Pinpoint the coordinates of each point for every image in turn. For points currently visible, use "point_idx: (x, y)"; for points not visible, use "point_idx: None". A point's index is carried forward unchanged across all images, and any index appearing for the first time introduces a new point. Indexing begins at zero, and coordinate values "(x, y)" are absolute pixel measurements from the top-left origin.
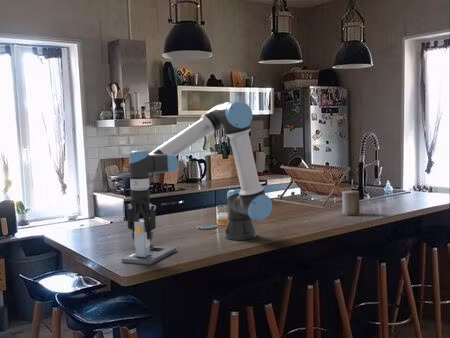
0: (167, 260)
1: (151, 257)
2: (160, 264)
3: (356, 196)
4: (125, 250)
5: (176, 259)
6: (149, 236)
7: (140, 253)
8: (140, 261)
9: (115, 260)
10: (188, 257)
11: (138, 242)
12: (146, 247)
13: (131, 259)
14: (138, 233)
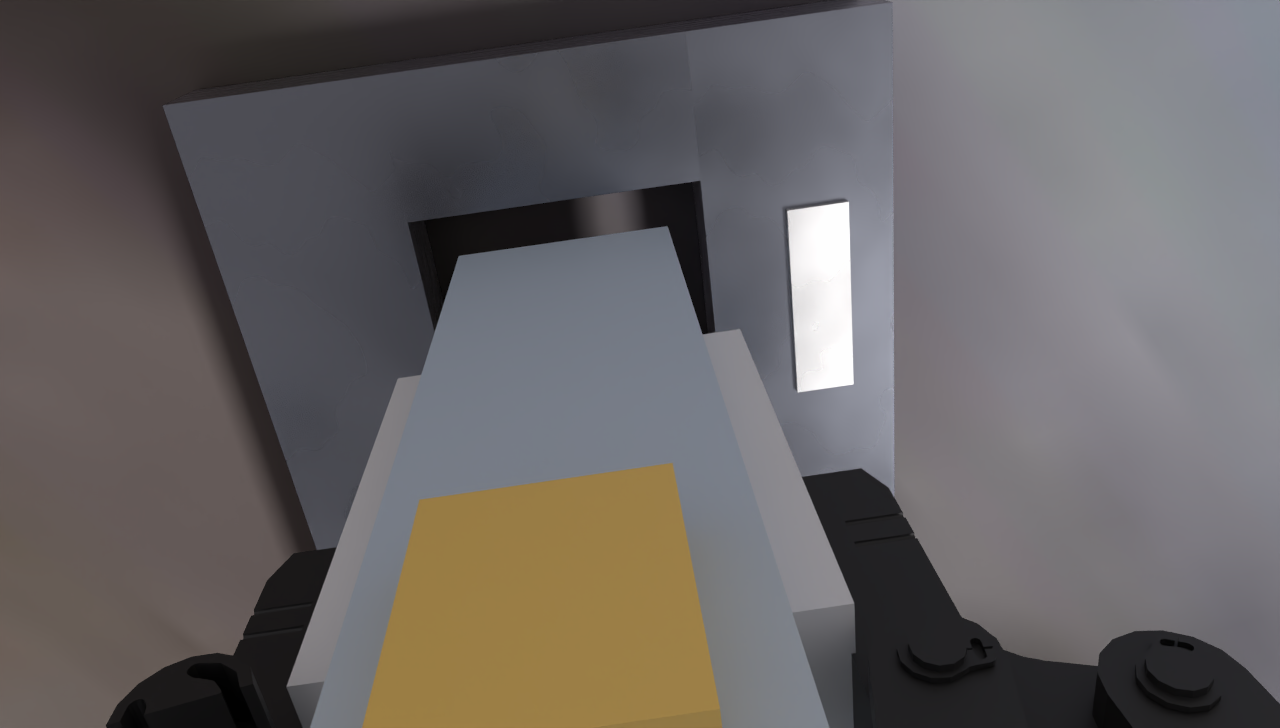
0: (158, 451)
1: (347, 323)
2: (46, 198)
3: None
4: (1224, 618)
5: (73, 551)
6: (254, 617)
7: (551, 266)
8: (415, 65)
9: (1082, 71)
10: (4, 696)
11: (598, 370)
12: (398, 381)
13: (640, 38)
14: (524, 488)
